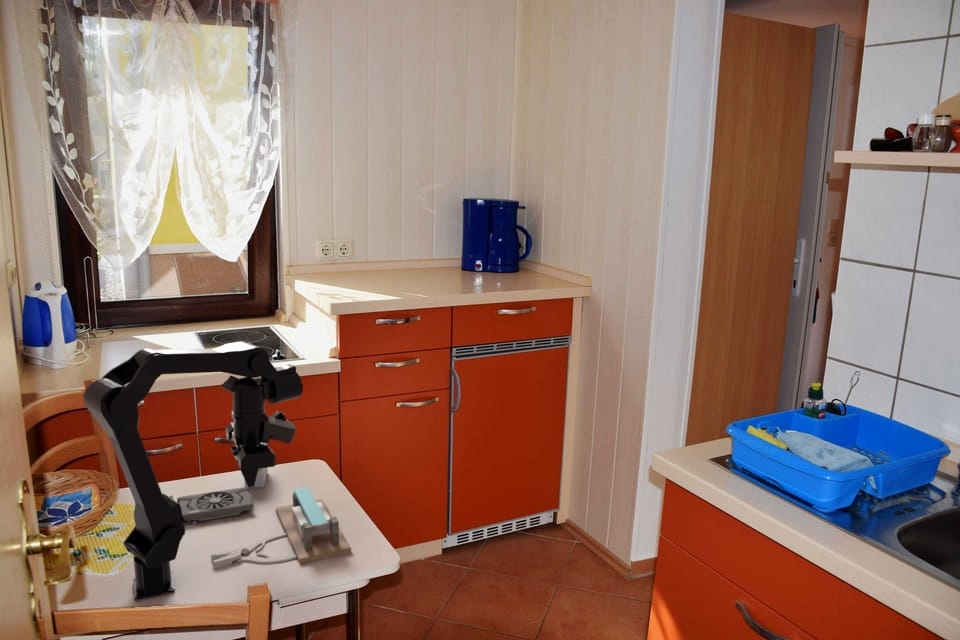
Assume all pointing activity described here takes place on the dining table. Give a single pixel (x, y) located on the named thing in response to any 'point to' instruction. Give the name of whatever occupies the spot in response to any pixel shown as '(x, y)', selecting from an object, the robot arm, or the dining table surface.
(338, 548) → the board
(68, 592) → the dining table surface
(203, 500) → the graphics card
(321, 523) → the lever
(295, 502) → the block
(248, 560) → the pliers
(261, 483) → the medicine box
